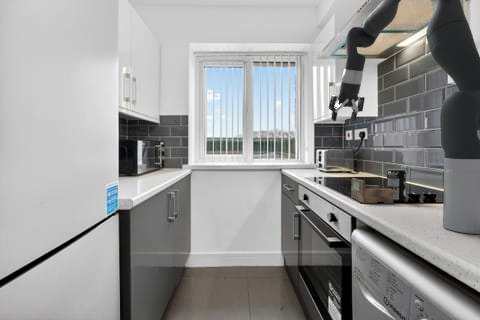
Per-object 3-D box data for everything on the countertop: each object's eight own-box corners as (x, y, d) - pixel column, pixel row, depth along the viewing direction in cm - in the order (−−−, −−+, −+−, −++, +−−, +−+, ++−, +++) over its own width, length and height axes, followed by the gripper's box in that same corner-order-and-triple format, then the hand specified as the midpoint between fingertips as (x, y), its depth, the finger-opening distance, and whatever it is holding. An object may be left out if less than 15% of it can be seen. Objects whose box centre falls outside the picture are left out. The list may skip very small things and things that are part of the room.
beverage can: (401, 199, 119) (401, 168, 119) (408, 202, 113) (409, 169, 112) (383, 199, 120) (384, 168, 120) (390, 201, 113) (390, 169, 113)
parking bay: (378, 197, 122) (378, 178, 122) (392, 203, 110) (393, 181, 110) (350, 197, 123) (351, 177, 122) (361, 203, 111) (362, 181, 110)
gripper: (339, 82, 118) (331, 123, 124) (372, 83, 121) (363, 123, 127) (330, 79, 125) (323, 118, 131) (362, 80, 127) (353, 118, 134)
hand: (343, 120), depth 129 cm, fingers open, 8 cm apart
